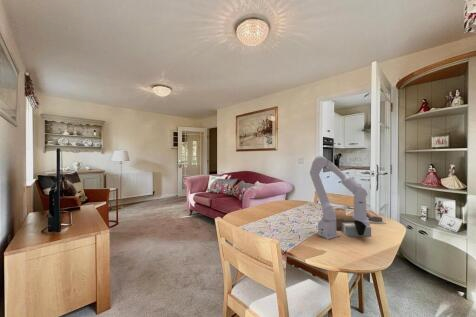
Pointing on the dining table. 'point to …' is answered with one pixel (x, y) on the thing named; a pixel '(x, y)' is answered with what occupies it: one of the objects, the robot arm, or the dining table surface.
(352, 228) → the carton
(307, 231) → the dining table surface
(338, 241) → the dining table surface
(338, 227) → the display podium
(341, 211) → the plant pot
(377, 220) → the packaged product
